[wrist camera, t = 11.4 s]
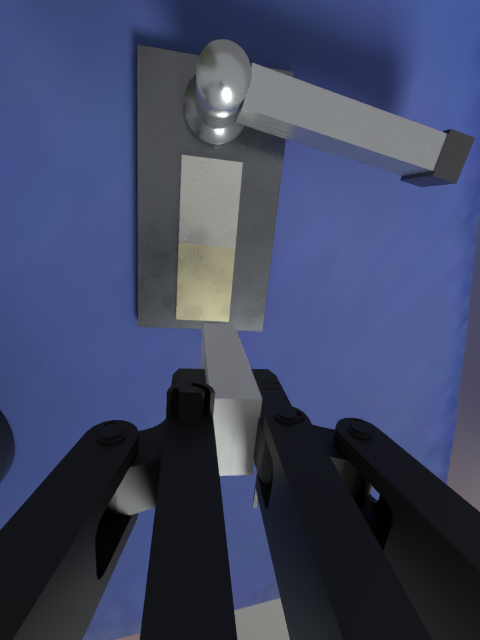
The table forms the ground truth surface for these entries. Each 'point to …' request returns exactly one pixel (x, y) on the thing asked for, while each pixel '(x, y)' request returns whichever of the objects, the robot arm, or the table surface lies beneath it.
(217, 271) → the plate
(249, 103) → the grey long bar
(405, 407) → the table surface
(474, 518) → the robot arm
